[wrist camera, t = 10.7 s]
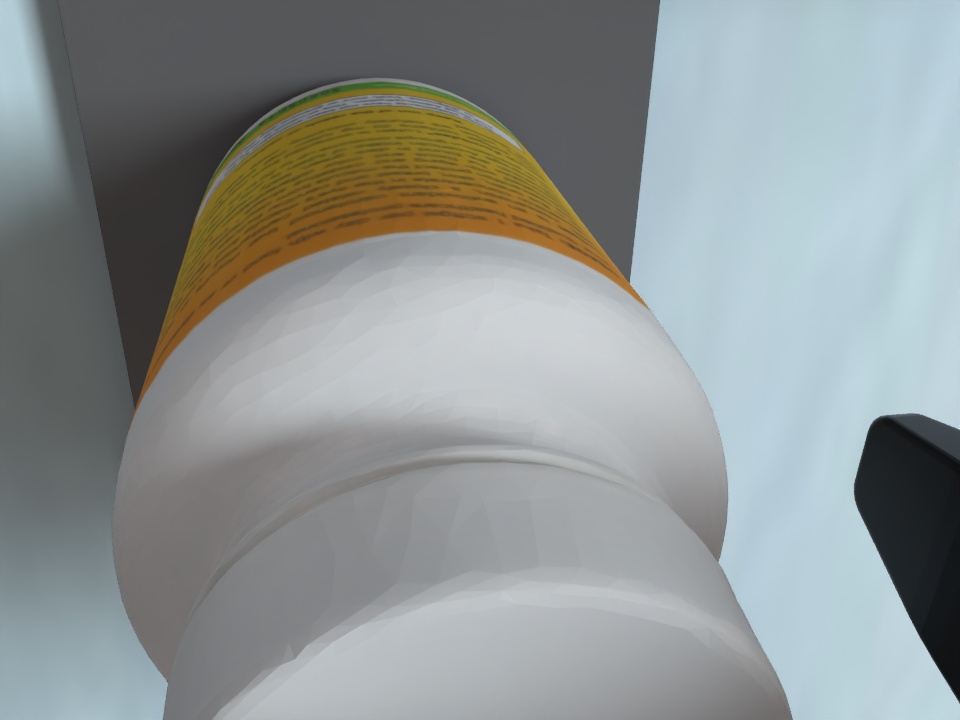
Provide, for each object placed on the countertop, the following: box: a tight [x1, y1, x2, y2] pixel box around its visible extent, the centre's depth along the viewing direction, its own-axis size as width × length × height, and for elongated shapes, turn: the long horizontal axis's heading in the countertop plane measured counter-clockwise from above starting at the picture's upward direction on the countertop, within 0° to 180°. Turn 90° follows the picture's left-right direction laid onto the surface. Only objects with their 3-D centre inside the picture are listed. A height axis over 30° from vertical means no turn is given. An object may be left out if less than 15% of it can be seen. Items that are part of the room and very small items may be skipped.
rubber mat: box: [58, 0, 660, 409], centre depth 14 cm, size 8×8×1 cm
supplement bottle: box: [112, 78, 793, 720], centre depth 10 cm, size 5×5×10 cm
